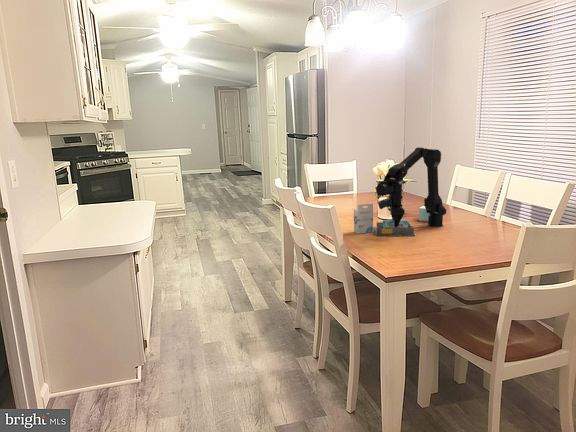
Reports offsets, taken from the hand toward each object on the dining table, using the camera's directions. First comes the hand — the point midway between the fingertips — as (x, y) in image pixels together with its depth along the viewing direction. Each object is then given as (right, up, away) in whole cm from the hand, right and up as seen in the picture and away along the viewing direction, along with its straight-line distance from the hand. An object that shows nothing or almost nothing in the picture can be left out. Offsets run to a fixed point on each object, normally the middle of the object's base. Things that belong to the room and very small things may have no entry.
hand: (395, 225), depth 214 cm
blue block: (0, -4, +1) cm, 4 cm away
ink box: (-14, -4, +7) cm, 16 cm away
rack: (+1, -4, +5) cm, 6 cm away
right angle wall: (+28, +2, +29) cm, 40 cm away
